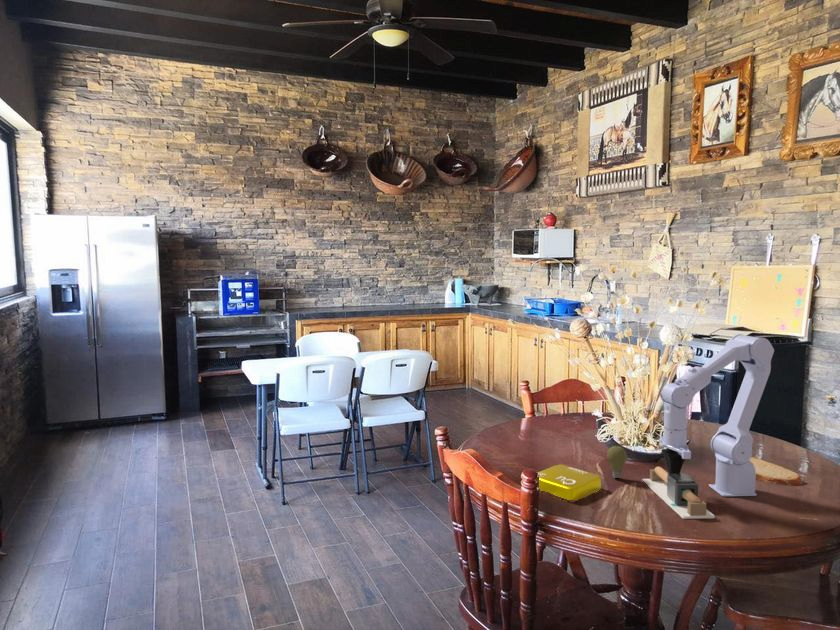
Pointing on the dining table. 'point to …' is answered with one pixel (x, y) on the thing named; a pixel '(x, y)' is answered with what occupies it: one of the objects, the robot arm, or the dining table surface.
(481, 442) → the dining table surface
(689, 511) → the pipe rig
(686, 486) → the grey square frame
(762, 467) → the slice of bread
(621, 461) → the light bulb
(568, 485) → the element tile
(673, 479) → the sleeve
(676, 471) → the robot arm
